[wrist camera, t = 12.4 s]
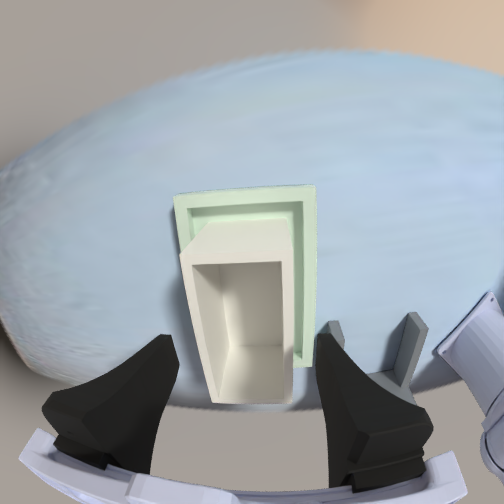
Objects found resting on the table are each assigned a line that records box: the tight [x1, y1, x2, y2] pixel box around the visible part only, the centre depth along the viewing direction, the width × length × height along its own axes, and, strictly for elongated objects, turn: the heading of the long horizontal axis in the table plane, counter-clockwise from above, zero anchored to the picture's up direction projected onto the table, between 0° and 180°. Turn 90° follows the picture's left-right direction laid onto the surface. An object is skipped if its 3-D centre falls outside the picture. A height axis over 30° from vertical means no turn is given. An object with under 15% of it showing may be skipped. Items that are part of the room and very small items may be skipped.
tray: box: [173, 184, 317, 368], centre depth 19 cm, size 14×9×2 cm, turn 4°
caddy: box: [179, 218, 294, 404], centre depth 16 cm, size 10×5×6 cm, turn 4°
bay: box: [327, 312, 429, 405], centre depth 17 cm, size 7×8×8 cm
